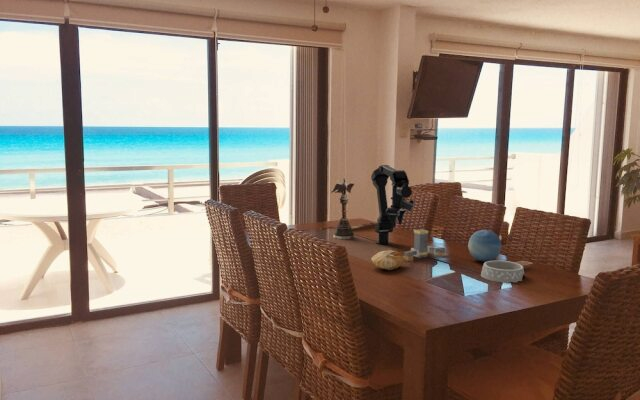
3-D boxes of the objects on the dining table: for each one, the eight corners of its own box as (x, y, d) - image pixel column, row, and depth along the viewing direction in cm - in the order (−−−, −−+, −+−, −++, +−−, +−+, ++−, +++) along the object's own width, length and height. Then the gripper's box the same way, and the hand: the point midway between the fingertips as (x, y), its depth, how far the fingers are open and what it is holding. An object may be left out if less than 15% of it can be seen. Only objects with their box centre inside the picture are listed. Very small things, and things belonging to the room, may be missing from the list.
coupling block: (413, 255, 271) (413, 230, 269) (421, 254, 273) (422, 229, 271) (419, 258, 266) (420, 231, 264) (427, 257, 268) (428, 230, 267)
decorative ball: (464, 262, 257) (465, 231, 255) (471, 256, 270) (472, 226, 268) (497, 266, 250) (499, 234, 248) (503, 259, 264) (504, 228, 261)
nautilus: (408, 263, 258) (421, 273, 244) (365, 263, 252) (376, 274, 238) (410, 247, 256) (423, 256, 242) (366, 247, 251) (378, 256, 237)
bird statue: (327, 234, 323) (327, 174, 319) (348, 233, 326) (349, 174, 321) (333, 239, 307) (333, 177, 302) (355, 238, 310) (356, 177, 305)
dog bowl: (527, 274, 238) (528, 262, 238) (519, 285, 223) (520, 272, 222) (487, 269, 247) (488, 257, 246) (476, 279, 231) (477, 266, 231)
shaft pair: (400, 258, 265) (400, 249, 264) (439, 253, 275) (439, 244, 274) (407, 261, 260) (407, 251, 259) (446, 256, 270) (447, 246, 269)
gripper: (407, 198, 266) (406, 230, 268) (418, 194, 283) (418, 224, 285) (385, 196, 271) (385, 228, 273) (398, 192, 288) (397, 222, 290)
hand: (397, 225), depth 280 cm, fingers open, 9 cm apart
